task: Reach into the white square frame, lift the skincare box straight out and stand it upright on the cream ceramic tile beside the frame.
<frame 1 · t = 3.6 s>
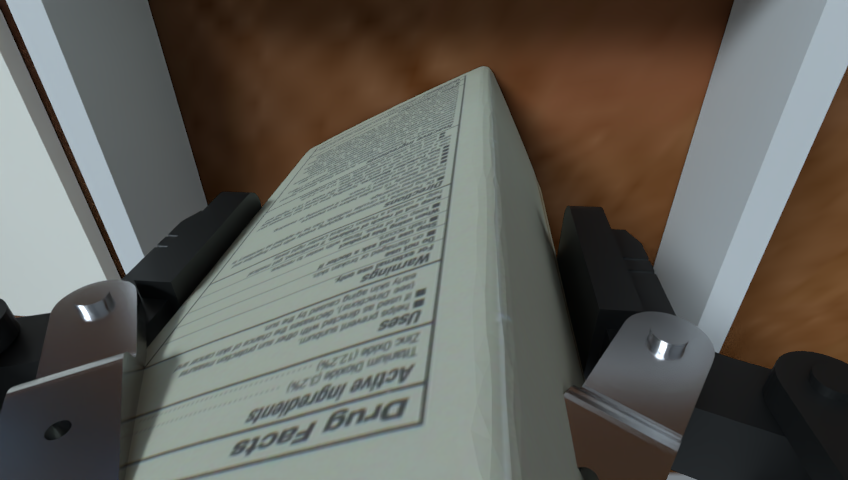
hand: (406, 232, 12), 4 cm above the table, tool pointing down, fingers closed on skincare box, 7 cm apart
skincare box: (426, 162, 15), resting in white square frame, touching gripper
white square frame: (425, 164, 15), on the table
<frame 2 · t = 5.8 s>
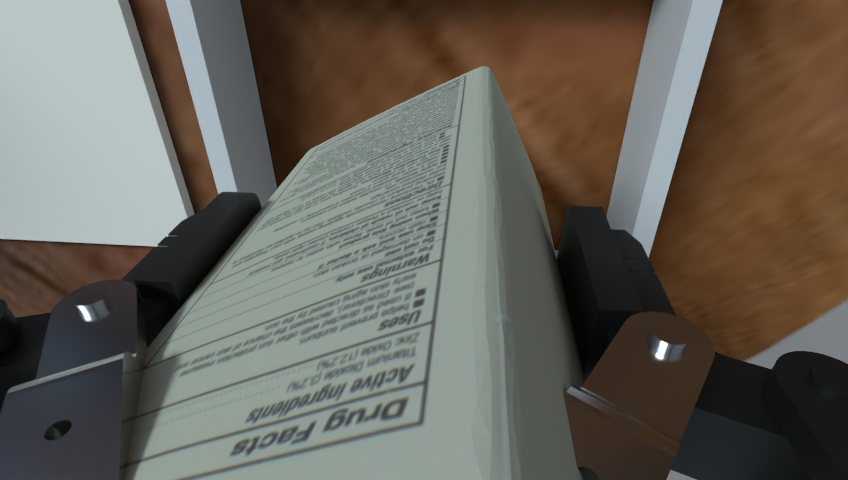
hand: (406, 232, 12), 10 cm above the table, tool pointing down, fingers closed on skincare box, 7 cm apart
skincare box: (426, 162, 15), point 6 cm above the table, touching gripper
cream tile: (13, 103, 22), on the table
white square frame: (438, 111, 20), on the table
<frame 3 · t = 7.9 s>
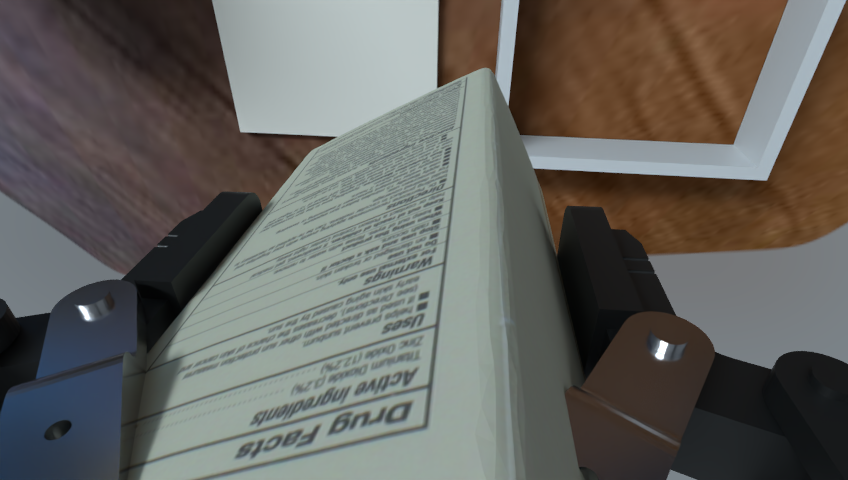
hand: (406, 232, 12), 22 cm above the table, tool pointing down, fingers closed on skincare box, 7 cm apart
skincare box: (427, 163, 15), point 18 cm above the table, touching gripper
cream tile: (328, 27, 31), on the table
white square frame: (639, 35, 29), on the table
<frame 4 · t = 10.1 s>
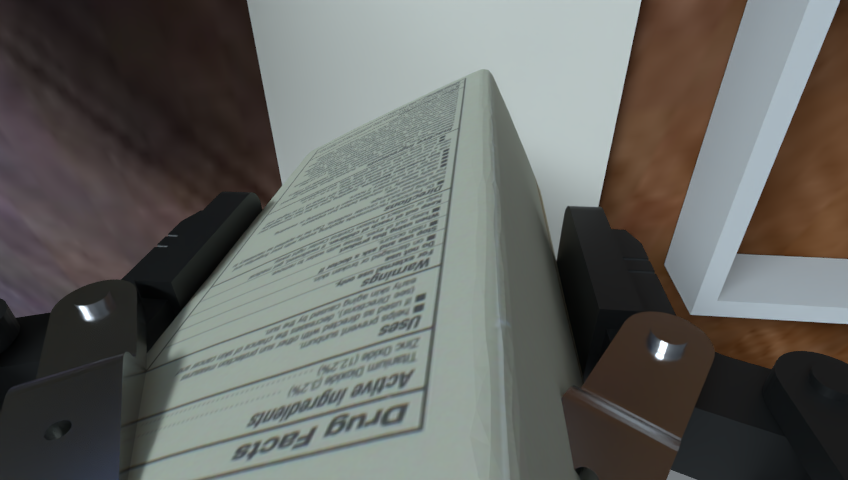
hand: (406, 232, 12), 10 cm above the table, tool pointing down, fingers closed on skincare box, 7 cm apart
skincare box: (426, 164, 15), point 6 cm above the table, touching gripper
cream tile: (437, 106, 20), on the table
when the fingers open (6 cm above the table, at t = 12.1 s): skincare box drops 1 cm, resting on cream tile.
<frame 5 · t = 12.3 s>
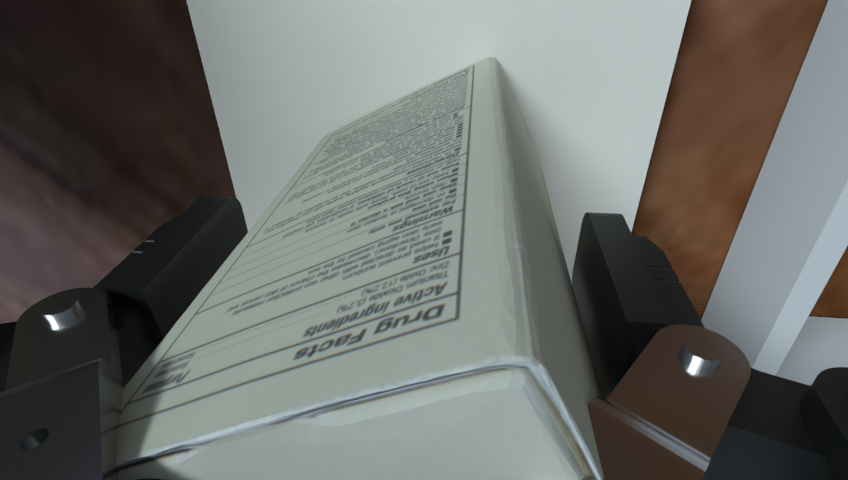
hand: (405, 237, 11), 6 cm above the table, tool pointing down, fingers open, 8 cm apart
skincare box: (435, 148, 16), resting on cream tile
cream tile: (429, 144, 16), on the table
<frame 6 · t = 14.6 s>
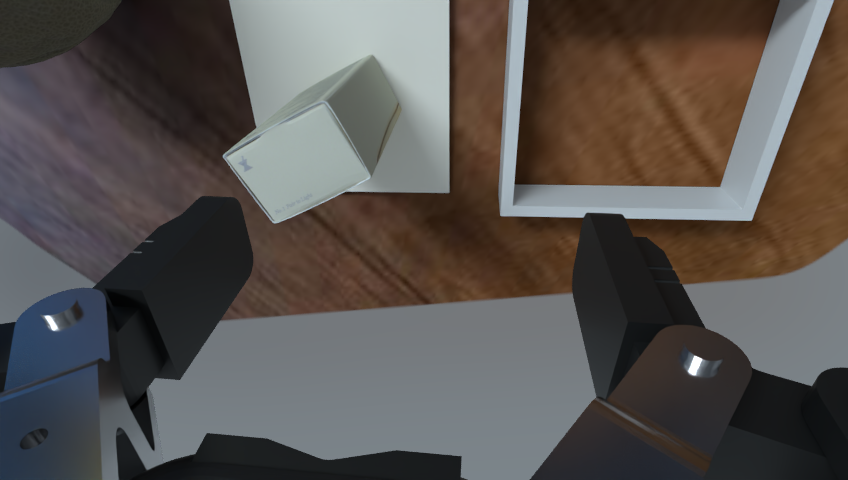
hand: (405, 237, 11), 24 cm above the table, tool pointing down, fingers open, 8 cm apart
skincare box: (351, 98, 34), resting on cream tile
cream tile: (349, 97, 34), on the table
white square frame: (629, 96, 32), on the table
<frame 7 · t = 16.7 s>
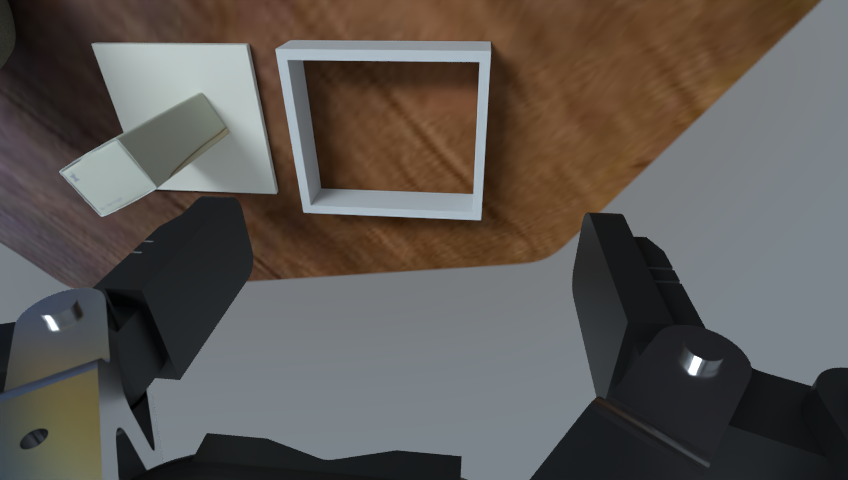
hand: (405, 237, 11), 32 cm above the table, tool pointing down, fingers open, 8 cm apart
skincare box: (193, 123, 45), resting on cream tile
cream tile: (193, 121, 45), on the table
white square frame: (392, 126, 44), on the table
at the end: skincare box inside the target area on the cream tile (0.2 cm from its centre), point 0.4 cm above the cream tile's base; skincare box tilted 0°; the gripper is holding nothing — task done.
